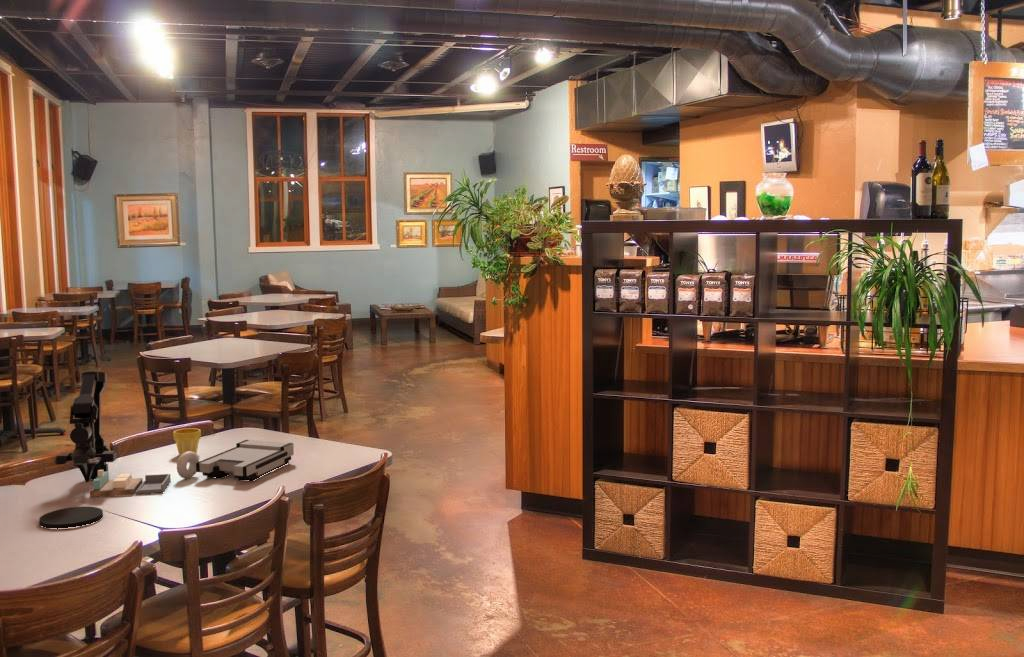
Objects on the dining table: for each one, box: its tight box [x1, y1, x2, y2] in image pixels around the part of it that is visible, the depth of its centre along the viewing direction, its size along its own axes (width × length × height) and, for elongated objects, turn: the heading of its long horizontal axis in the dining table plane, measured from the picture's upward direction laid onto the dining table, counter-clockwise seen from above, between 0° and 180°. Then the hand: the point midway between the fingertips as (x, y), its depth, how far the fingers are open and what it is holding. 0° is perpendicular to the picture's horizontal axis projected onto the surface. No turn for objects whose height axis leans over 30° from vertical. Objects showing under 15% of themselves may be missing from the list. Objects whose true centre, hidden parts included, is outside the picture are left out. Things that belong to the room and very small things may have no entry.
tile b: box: [116, 473, 133, 483], centre depth 315 cm, size 4×4×2 cm
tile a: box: [113, 477, 129, 488], centre depth 310 cm, size 4×4×2 cm
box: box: [134, 473, 172, 495], centre depth 315 cm, size 9×14×3 cm, turn 11°
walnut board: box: [89, 477, 144, 498], centre depth 313 cm, size 14×14×2 cm
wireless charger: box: [38, 505, 104, 529], centre depth 280 cm, size 18×18×2 cm
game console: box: [196, 439, 295, 482], centre depth 336 cm, size 21×32×8 cm, turn 163°
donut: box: [176, 451, 200, 480], centre depth 327 cm, size 10×4×10 cm, turn 159°
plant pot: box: [172, 427, 202, 457], centre depth 362 cm, size 10×10×10 cm
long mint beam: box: [92, 470, 110, 490], centre depth 311 cm, size 2×12×5 cm, turn 11°
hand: (87, 481), depth 311 cm, fingers closed
